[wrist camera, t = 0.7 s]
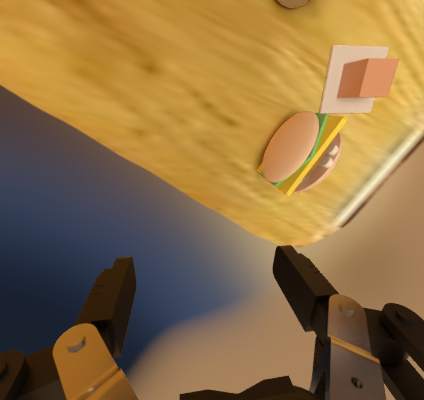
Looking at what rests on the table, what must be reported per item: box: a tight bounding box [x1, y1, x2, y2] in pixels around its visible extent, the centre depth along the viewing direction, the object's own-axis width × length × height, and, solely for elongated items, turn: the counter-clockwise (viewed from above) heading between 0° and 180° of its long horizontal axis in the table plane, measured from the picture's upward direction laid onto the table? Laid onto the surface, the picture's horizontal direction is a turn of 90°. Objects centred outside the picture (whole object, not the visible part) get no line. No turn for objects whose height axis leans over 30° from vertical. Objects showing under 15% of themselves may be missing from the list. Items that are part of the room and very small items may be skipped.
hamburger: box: [257, 111, 347, 196], centre depth 34 cm, size 12×8×12 cm
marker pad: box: [319, 45, 389, 113], centre depth 36 cm, size 10×10×1 cm
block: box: [337, 58, 399, 98], centre depth 34 cm, size 5×5×5 cm
